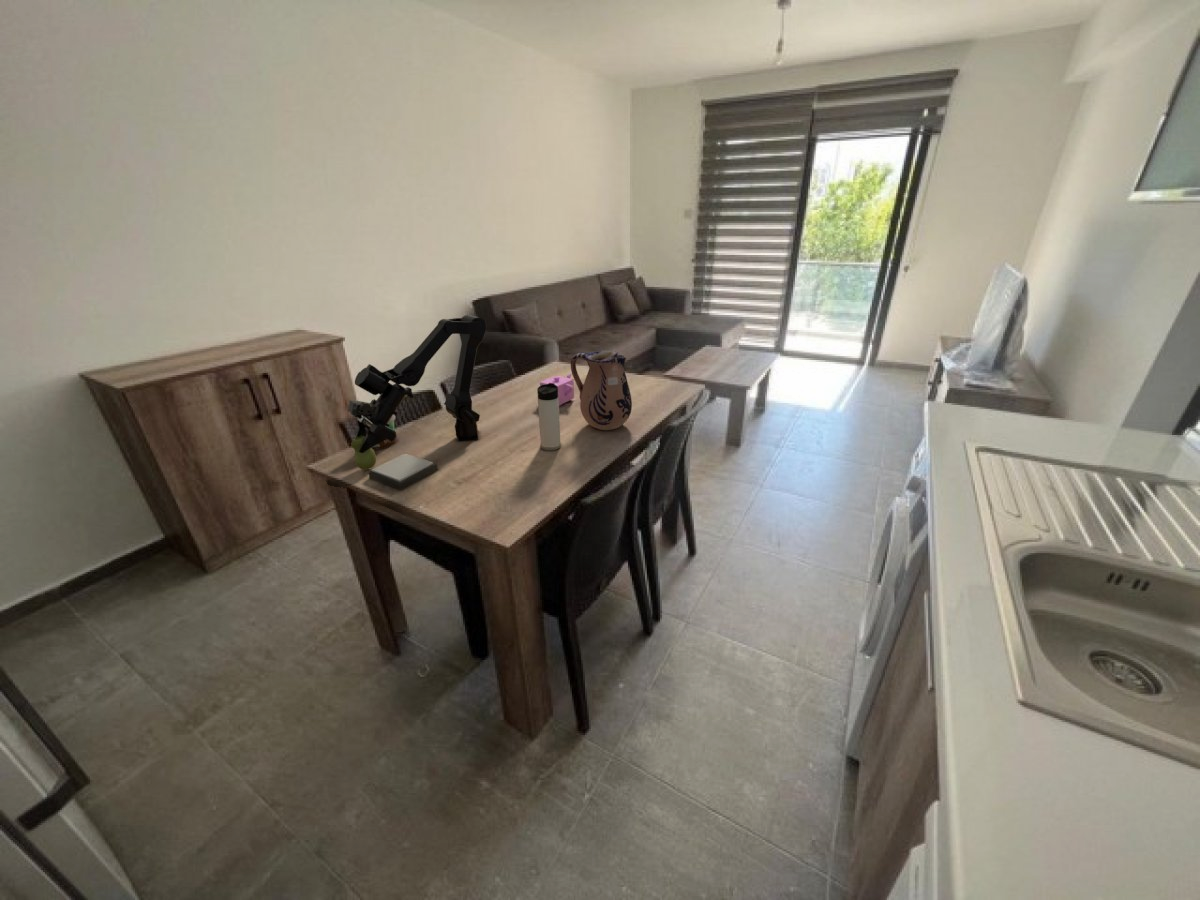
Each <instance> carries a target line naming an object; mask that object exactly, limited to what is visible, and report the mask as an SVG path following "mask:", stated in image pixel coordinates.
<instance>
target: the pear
mask: <svg viewBox="0 0 1200 900" xmlns="http://www.w3.org/2000/svg"><path fill="white" fill-rule="evenodd" d="M364 438H365V436H362V435H361V436H360V437H355V436H354V438H353V440H352V441H351V442H350V443H351V444H350V446H351V448H352V449H353V450H354V456H353V457H354V463H355V465H356V467H357V468H359V469H360V470H370V469H373V468H374V466H375V465H376V463H377V455H376V452H375V449H372V448H370V449H368V450H367V451H365V452H363V453H360V452H359V449H360V446H361V444H362V442H363V440H364Z"/></svg>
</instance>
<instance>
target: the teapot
mask: <svg viewBox="0 0 1200 900" xmlns="http://www.w3.org/2000/svg"><path fill="white" fill-rule="evenodd" d="M571 376H573V375H572V373H568V374H567V376H565V377H564V376H560V375H553V376H551V377H549V378H546V379H544V380H542V381H540V382H539V386H541V385H545V384H549V383H554V384H555V385H556V386H557V387H558V399H559V407H560V406H563V404H566V403H569V402H570V401H571V400H573V399H574V398H575V386H574V384H575V383H574V382H575V380H574V378H571Z"/></svg>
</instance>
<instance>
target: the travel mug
mask: <svg viewBox="0 0 1200 900" xmlns="http://www.w3.org/2000/svg"><path fill="white" fill-rule="evenodd" d="M536 391H537V408H538V409H537V410H538V411H537V412H538V422H539V423H538V424H539V425H538V426H539V440H540V448H541V449H542V450H545V451H551V452H552V451H557V450H558V449H560V448H561V445H562V444H561V425H560V422H561V421H560V406H559V399H558V387H557V386H556V385H555V384H554V383H549V384H545V385H541V386H540V385H539V386H538V387H537V389H536Z"/></svg>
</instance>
